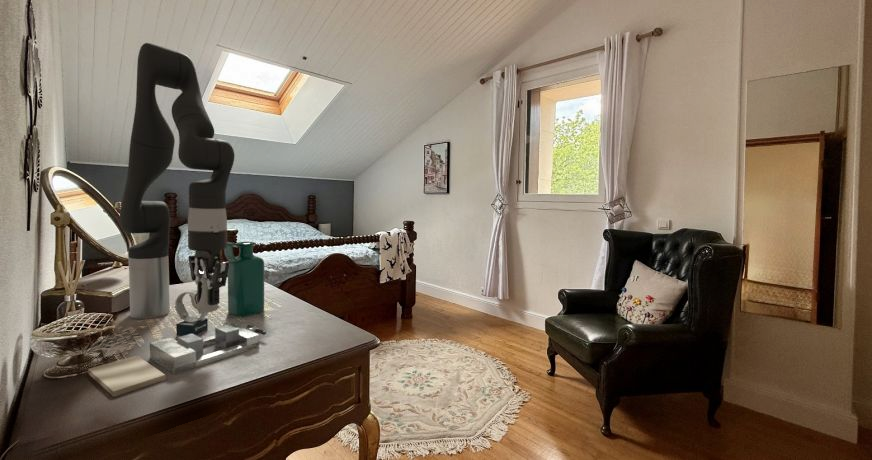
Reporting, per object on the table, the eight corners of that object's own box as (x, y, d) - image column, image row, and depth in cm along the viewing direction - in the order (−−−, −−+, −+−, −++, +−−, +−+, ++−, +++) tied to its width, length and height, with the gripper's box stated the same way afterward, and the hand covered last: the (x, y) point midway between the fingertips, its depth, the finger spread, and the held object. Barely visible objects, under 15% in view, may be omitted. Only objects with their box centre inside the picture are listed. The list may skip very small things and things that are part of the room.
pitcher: (252, 306, 121) (252, 239, 119) (266, 311, 116) (267, 241, 114) (220, 313, 113) (220, 241, 111) (234, 319, 108) (234, 244, 106)
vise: (150, 358, 82) (149, 338, 82) (245, 331, 100) (245, 315, 99) (174, 374, 75) (174, 353, 75) (271, 342, 93) (271, 325, 93)
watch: (200, 337, 94) (199, 295, 93) (170, 335, 95) (169, 293, 94) (214, 329, 100) (214, 289, 99) (186, 327, 100) (185, 287, 99)
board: (88, 373, 74) (88, 368, 74) (137, 360, 81) (137, 355, 81) (113, 396, 67) (113, 391, 66) (165, 379, 73) (165, 374, 73)
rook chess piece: (203, 306, 88) (203, 273, 87) (223, 307, 88) (223, 273, 88) (192, 312, 84) (192, 277, 83) (213, 313, 84) (213, 278, 83)
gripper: (174, 226, 85) (175, 299, 86) (205, 232, 77) (206, 313, 79) (209, 224, 91) (210, 293, 93) (241, 230, 83) (241, 305, 85)
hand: (208, 301), depth 86 cm, fingers closed on rook chess piece, 4 cm apart
